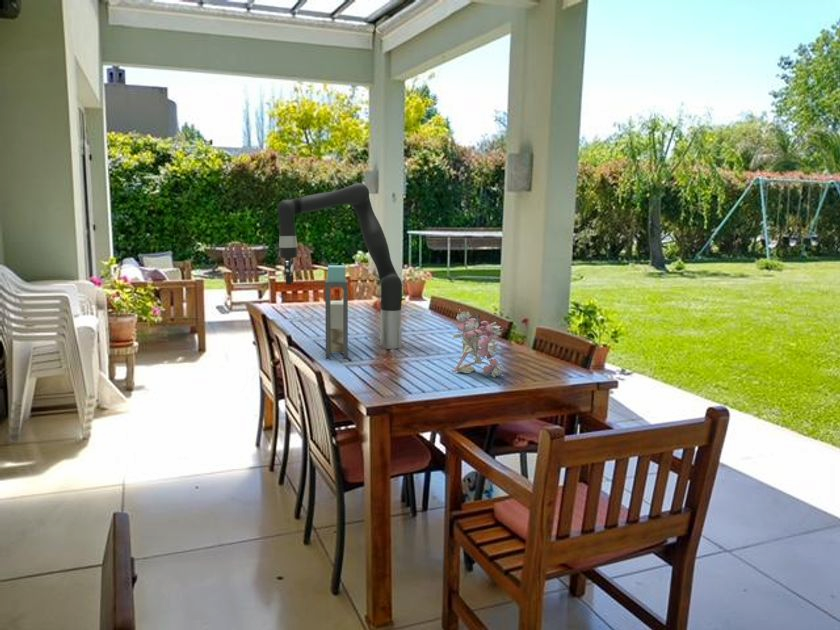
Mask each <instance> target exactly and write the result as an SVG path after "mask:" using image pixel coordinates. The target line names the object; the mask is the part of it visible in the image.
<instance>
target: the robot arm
mask: <svg viewBox="0 0 840 630" xmlns="http://www.w3.org/2000/svg"><path fill="white" fill-rule="evenodd" d="M340 205H352V207H353V209H354V211H355V213H356V216H357V219H358V222H359V227H360V231H361V234H362V238H363V241H364V244H365V246H366V249H367V251H368V253H369V255H370V258H371V260H372V262H373V264H374V265H375V267H376V270H377V274H378V278H379V283H380V341H379V342H380V346H379V347H380V348H381V349H387V350H388V349H389V350H393V349H394V350H396V349H402V330H403V329H402V302H403V283H402V280H401V278H400V277H399V275H398V273H397V271H396V269H395V267H394V265H393V262H392V259H391V254H390V249H389V248H390V247H389V245H388V242H387V238H386V236H385V233H384V231H383V228H382V226H381V224H380V221H379V220H378V218H377V216H376V215H375V212H374V209H373V207H372V203H371V198H370V191H369V188H368V187H367V186H366V185H365V184H364V183H361V182H355V183H353V184H351V185H348V186H347V187H344V188H340V189H337V190H332V191H327V192H318V193H313V194H309V195H304V196H301V197H298V198H292V199H282V200H281V201H279V203H278V205H277V215H278V223H279V225H278V226H279V227H278V228H279V241H278V242H279V243H278V244H279V245H278V246H279V257H280V259H281V258H282V259H285V260H284V261H283V266H284V268H283V269H284V276H285V284H286V285H288V286H290V285H292V284H293V283H294V272H295V267H294V266H295V261H294V259H295V258H298V240H297V230H296V229H297V228H296V224H295V216H296V215H300V214H304V213H311V212H316V211H322V210H325V209H327V208H332V207H336V206H340Z"/></svg>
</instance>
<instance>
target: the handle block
mask: <svg viewBox="0 0 840 630" xmlns="http://www.w3.org/2000/svg"><path fill="white" fill-rule="evenodd" d="M327 279H328V282H345V279H346V264H345V265H342V264H340V265H337V264H336V265H335V264H334V265H333V264H332V265H331V264H330V265H327Z"/></svg>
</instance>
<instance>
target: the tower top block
mask: <svg viewBox="0 0 840 630" xmlns="http://www.w3.org/2000/svg"><path fill="white" fill-rule="evenodd" d="M330 308H331V329H343V300H330Z"/></svg>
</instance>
